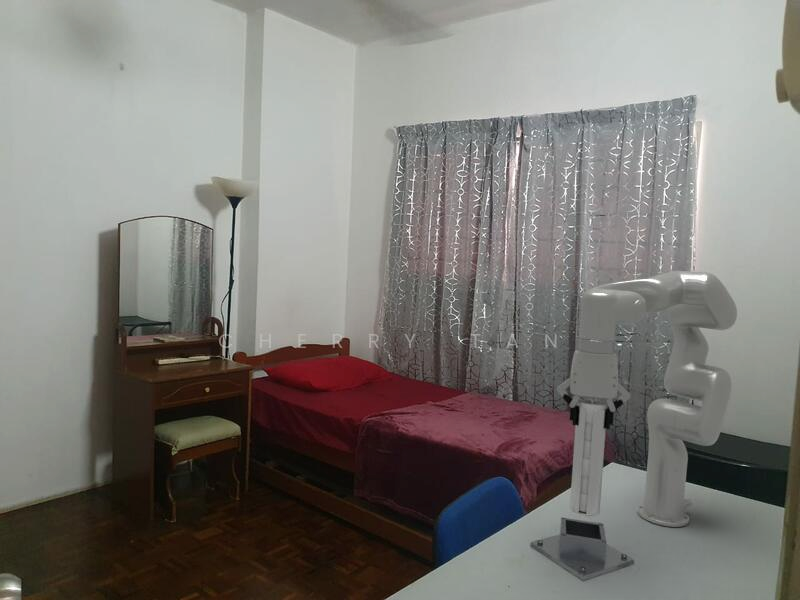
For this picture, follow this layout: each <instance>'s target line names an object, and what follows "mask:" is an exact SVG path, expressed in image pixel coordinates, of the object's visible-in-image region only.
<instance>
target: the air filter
mask: <svg viewBox="0 0 800 600" xmlns="http://www.w3.org/2000/svg"><path fill="white" fill-rule="evenodd" d="M576 406H577V419H576V425H575V428H574V429H575V430H574V441H573V443H574V445H573V455H572V456H573V458H572V459H573V460H572V473H571V485H570V487H571V488H570V498H569V499H570V501H569V503H570V504H569V508H570V510H571V511H572V512H574V513H575V514H578V515H580V516H584V517H585V516H587V517H593V516H595V517H596V516H597V515H599V514H600V511H601V497H602V485H603V472H604V470H603V469H604V460H605V459H604V458H605V457H604V456H605V446H606V445H605V443H606V433H607V431H606V419H607V408H608V406H606V402H603V401H601V400H600V401H599V400H597V399H595V400H594V399H579V400H578V402H577V404H576Z"/></svg>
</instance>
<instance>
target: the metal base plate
mask: <svg viewBox="0 0 800 600" xmlns="http://www.w3.org/2000/svg"><path fill="white" fill-rule="evenodd" d="M559 527H560V528H559V534H556V535H552V536H548V537H545V538H541V539H536V540H533V541H531V542H530V547H531V548H533V550H535V551H537V552H538V553H540V554H541V555H543V556H544V557H546V558H548V559H549V560H551V561H552V562H554V563H555V564H557V565H558V566H560V567H561V568H563V569H565V571H568V572H569V573H570V574H572V575H574V576H575V577H577V579H580V580H581V581H582V582H584V581H587V580H590V579H593V578H595V577H599V576H601V575H604V574H607V573H608V574H609V573H611V572H613V571H616V570H619V569H623V568H625V567H629V566H632V565H634V564H635V559H634V558H633V557H630V556H629V555H628V554H626V553H623V552H622V551H620V550H618V549H616V548H614V547H613V546H611V545H609V544H608V543H607V536H606V532H605V526H604V523H600V522H594V521H588V520H581V519H575V518H569V517H567V518H566V517H561V518H560V526H559Z"/></svg>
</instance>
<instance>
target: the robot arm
mask: <svg viewBox="0 0 800 600" xmlns="http://www.w3.org/2000/svg"><path fill="white" fill-rule="evenodd" d="M580 305H581V306H580V318H579V319H580V321H579V322H580V323H579V332H578V333H579V335H578V347H577V348H578V350H577V349H576V350H574V353H573V356H572V361H571V367H570V376H569V378H567V379H566V380H564V381H563V382H562V383H561V384H559V385H558V386H557V387H556V391H557V393H558V394H559V395H560V396H561V397H562V399H563V401H565V402H566V403H567V405H569V408H570V409H569V421H571V422H572V423H571V424H572V426H576V419H577V404H578V403H579V401H580V398H587V399H588V398H589V399H596V400H597V399H598V400H606V403H607V419H606V429H607V430H610V428H611V426H613V425H614V414H615V412H616V410H617V409H619V408H620V407H621V406H623V404H625V403H626V402H627V401H628V400H630V399H631V397H632V396H631V394H630V392H628V391H627V390H626V389H625V387H624V386H622V384H621V383H619V367H618V366H619V363H618V360H619V359H618V354H617V353H615V351H618V350H622V343H619V342H616V328H617V327H616V326H617V324H620V325H635V324H637V323H639V322H640V321H642V320H643V319H644V318H645V316H646V314H648V313H649V314H651V313H658V312H661V311H664V310H665V311H666V315H667V319H668V321H669V325H670V327H671V330H672V335H673V346H672V350H671V352H670V353H671V354H670V355H669V356H670V357H669V361H668V364H667V367H666V371H665V374H664V379H663V387H664V390H666V391H667V393H669V394H671V395H674V396H676V397H680V398H684V399H689V400H693V401H698V402H702V403H701V405H698V404H693V403H688V402H684V401H680V400H675V399H671V398H658V399H655V400H654V401H652V402H651V403H650V404H649V406H648V409H647V411H646V412H647V413H646V414H647V415H646V419H647V426H648V427H647V428H648V450H647V451H648V452H647V464H646V465H647V466H646V475H645V490H644V500H643V503H640V504H639V505H638V506H637V509H636V510H637V511H636V512H637V514H638V516H640V518H642V519H644V520H646V521H648V522H650V523H653V524H656V525H659V526H662V527H663V526H664V527H668V528H669V527H672V528H681V527H685V526H688V524H689V522H690V517H689V515H688V514H687V513H686V512H685V509H686V508H688V507H690V506H691V507H692V506H693V501H692V498H691V499H690V498H685V491H686V482H687V471H688V470H687V469H688V463H689V462H688V460H689V457H688V456H689V454H688V450H687V448H686V445H685V443H684V442H688V443H692V444H696V445H698V446H699V445H700V446H704V447H707V446H712V445H714V444H715V443H716V442H717V440H718V439H719V438H720V437H719V436H720V434H721V431H722V429H723V424H724V420H725V417H726V413H727V409H728V405H729V401H730V398H731V393H732V379H731V376H730V373H729V372H728V371H727V370H725V369H724V368H723V367H719V366H715V365H709V364H706V361H707V358H708V355H709V349H710V348H709V345H708V341H707V339H706V337H705V335H704V334H703V333H702V331H701V329H707V330H708V329H710V330H716V331H724V330H729V329H731V328H732V327H733V326H734V325H735V323H736V321H737V317H738V309H737V305H736V303H735V300H734V298H733V297H732V295H731V294H730V293H729V291H728V290H727V288H726V287H725V285H724V284H723V282H722V281H721V280H720V279H719V277H717V276H716V275H715V274H713V273H710V272H706V271H691V270H688V271H686V270H671V271H667V272H664V273H661V274H658V275H655V276H651V277H647V278H639V279H632V280H626V281H617V282H611V283H605V284H601V285H598V286H594V287H592V288H590V289H588V290H587V291H585V292H584V293H583V295H582V296H581V304H580ZM700 328H701V329H700ZM568 387H569V391H570V394H571V395H572V396H570V395H569V394H568V393H567V391H566V389H567V388H568ZM618 392H619V393H620V394H621V395H620V397H619V398H617V397H618ZM616 398H617V399H616ZM615 399H616V400H615ZM613 400H615V401H613Z"/></svg>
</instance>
